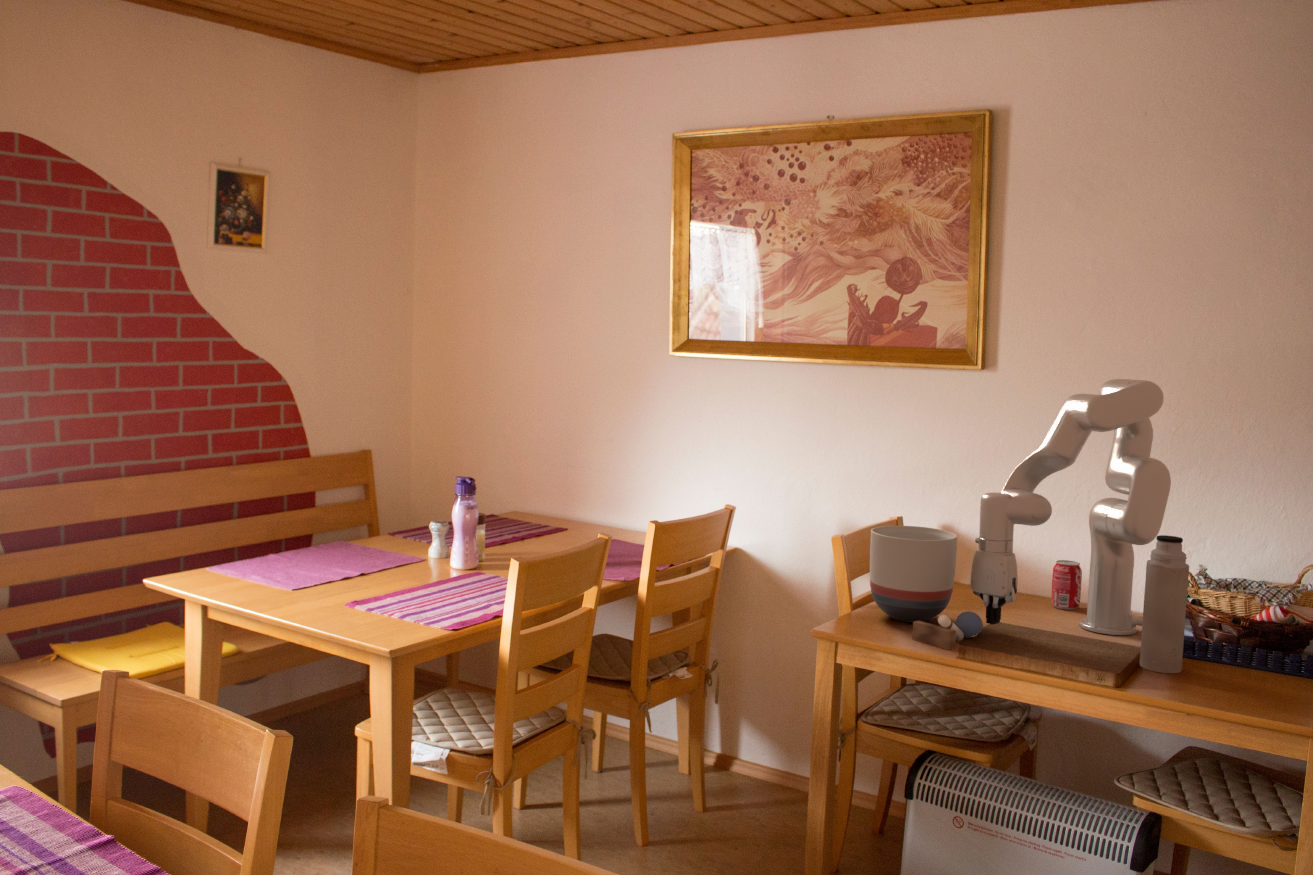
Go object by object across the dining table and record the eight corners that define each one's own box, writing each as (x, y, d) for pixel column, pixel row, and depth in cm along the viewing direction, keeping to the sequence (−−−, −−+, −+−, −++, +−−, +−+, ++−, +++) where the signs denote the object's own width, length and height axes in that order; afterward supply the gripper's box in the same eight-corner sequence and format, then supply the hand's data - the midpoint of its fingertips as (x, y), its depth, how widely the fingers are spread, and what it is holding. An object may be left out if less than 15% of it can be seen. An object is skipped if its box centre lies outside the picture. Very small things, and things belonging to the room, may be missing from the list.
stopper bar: (912, 638, 232) (913, 621, 231) (917, 637, 233) (918, 620, 233) (949, 649, 224) (950, 631, 224) (954, 648, 225) (955, 630, 225)
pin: (964, 629, 232) (948, 613, 227) (964, 639, 231) (948, 623, 225) (953, 631, 233) (937, 615, 228) (953, 641, 232) (937, 625, 227)
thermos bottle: (1147, 659, 221) (1157, 531, 219) (1187, 668, 215) (1196, 537, 213) (1133, 666, 215) (1142, 535, 213) (1173, 675, 210) (1183, 541, 208)
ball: (961, 623, 230) (965, 646, 232) (985, 614, 231) (989, 637, 233) (948, 612, 236) (953, 634, 238) (972, 603, 236) (976, 625, 238)
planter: (864, 606, 261) (868, 523, 259) (946, 611, 258) (951, 528, 256) (869, 627, 241) (873, 537, 239) (958, 633, 238) (963, 542, 236)
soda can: (1074, 605, 269) (1077, 560, 268) (1083, 611, 262) (1086, 565, 261) (1047, 603, 270) (1050, 558, 269) (1054, 610, 263) (1057, 564, 262)
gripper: (958, 542, 242) (956, 618, 243) (1015, 552, 230) (1012, 632, 232) (977, 539, 246) (975, 613, 248) (1033, 549, 235) (1030, 627, 236)
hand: (993, 622), depth 240 cm, fingers closed
